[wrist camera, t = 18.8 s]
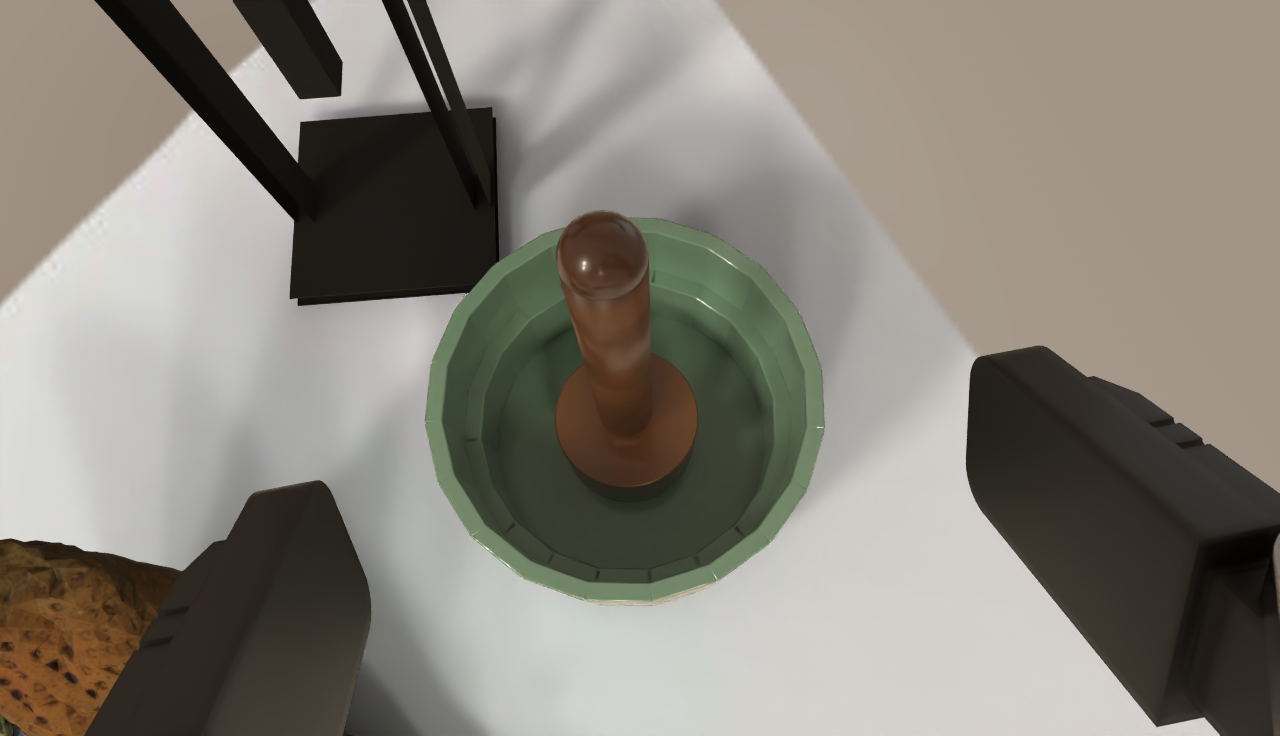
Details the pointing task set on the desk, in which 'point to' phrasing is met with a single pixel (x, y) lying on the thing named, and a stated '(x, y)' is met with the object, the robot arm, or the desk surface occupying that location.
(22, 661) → the sculpture
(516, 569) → the bowl
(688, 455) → the brown wooden pestle
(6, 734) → the medallion
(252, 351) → the desk surface
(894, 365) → the desk surface
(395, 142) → the handbag
